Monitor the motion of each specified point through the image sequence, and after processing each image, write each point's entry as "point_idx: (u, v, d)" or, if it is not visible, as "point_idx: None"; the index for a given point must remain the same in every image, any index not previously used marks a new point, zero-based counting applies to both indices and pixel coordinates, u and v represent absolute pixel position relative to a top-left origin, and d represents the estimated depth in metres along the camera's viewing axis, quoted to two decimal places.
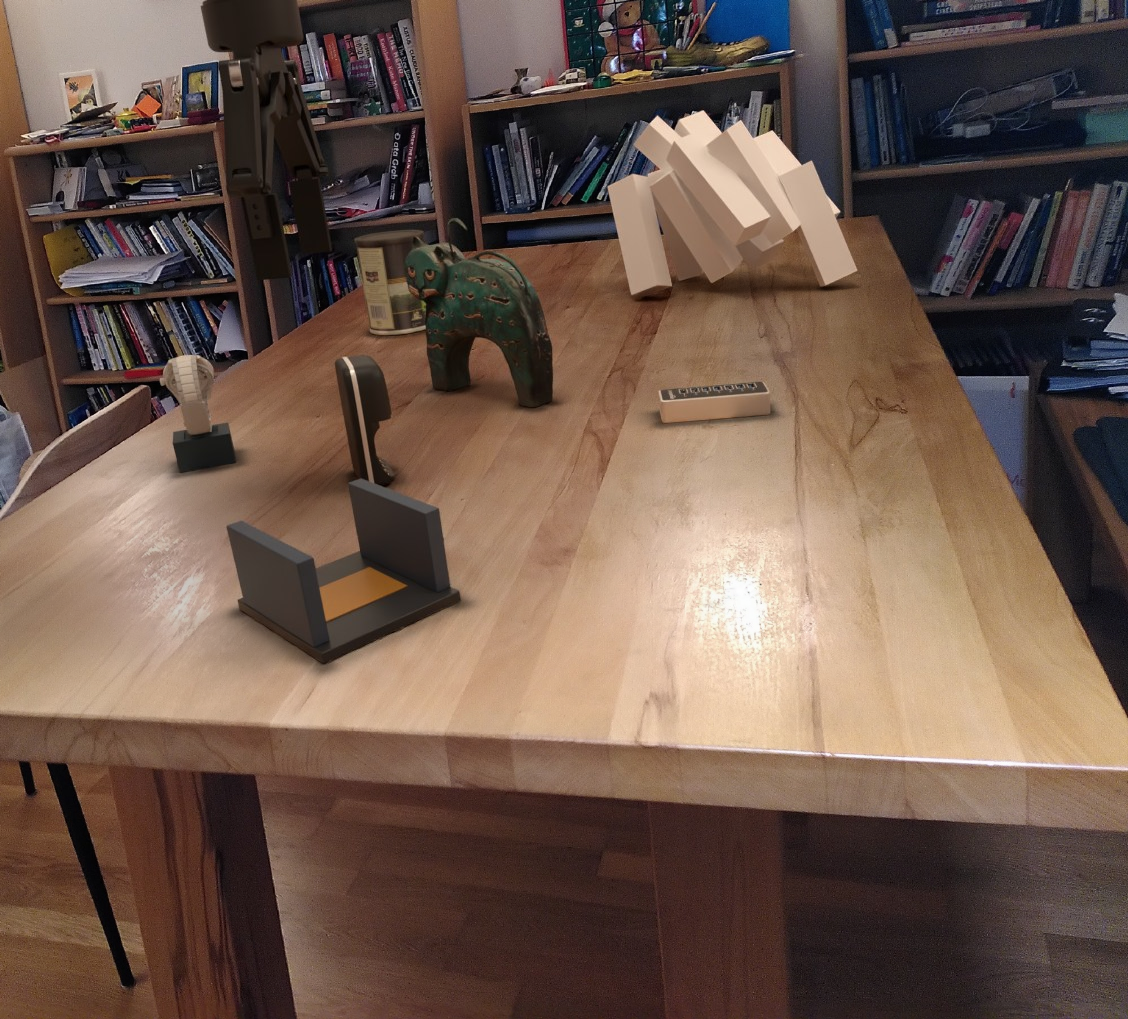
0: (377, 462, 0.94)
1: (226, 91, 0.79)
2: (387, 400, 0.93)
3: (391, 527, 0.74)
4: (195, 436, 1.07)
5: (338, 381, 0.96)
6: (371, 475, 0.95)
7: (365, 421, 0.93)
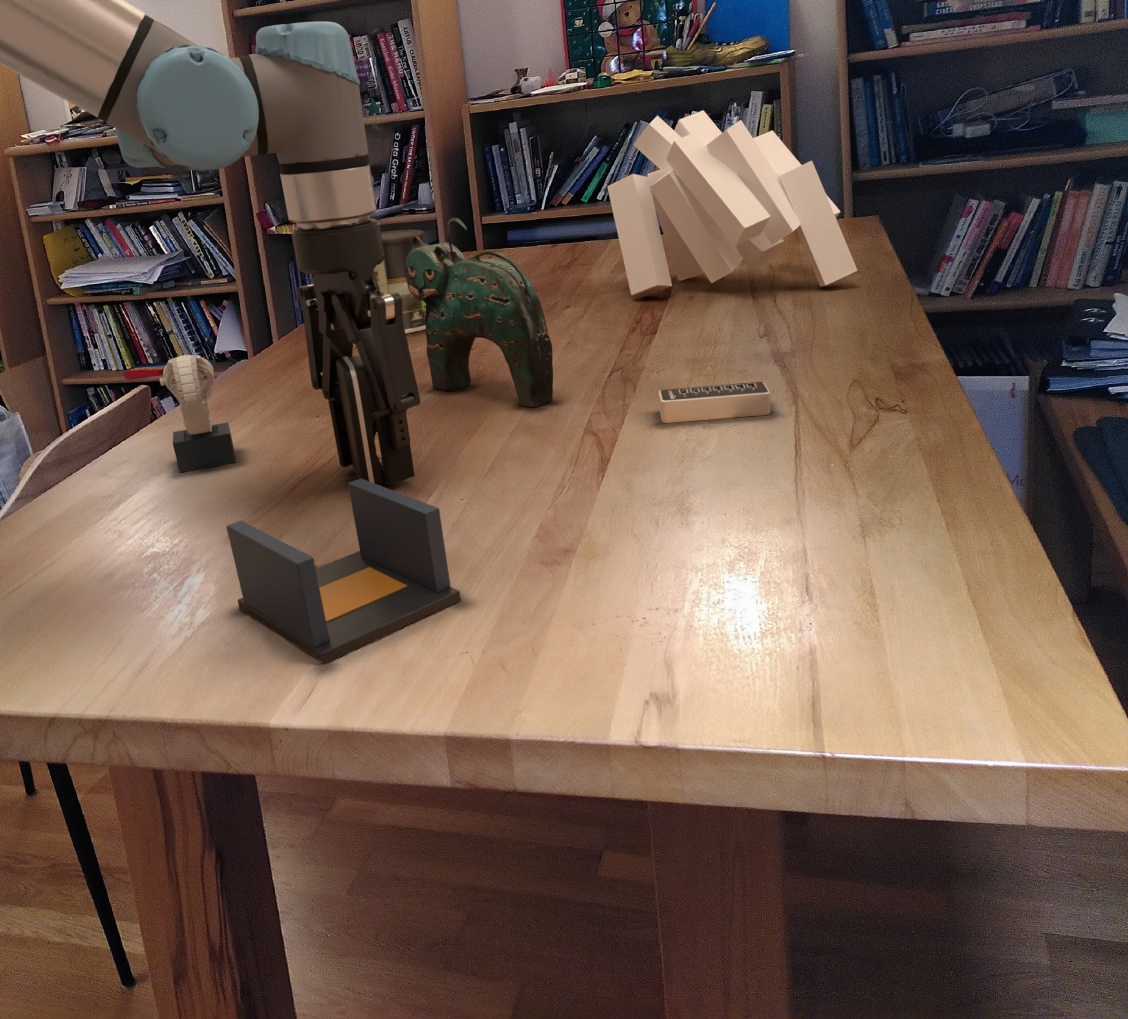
0: (377, 462, 0.94)
1: (382, 325, 0.87)
2: None
3: (391, 527, 0.74)
4: (195, 436, 1.07)
5: (338, 381, 0.96)
6: (371, 475, 0.95)
7: (365, 421, 0.93)
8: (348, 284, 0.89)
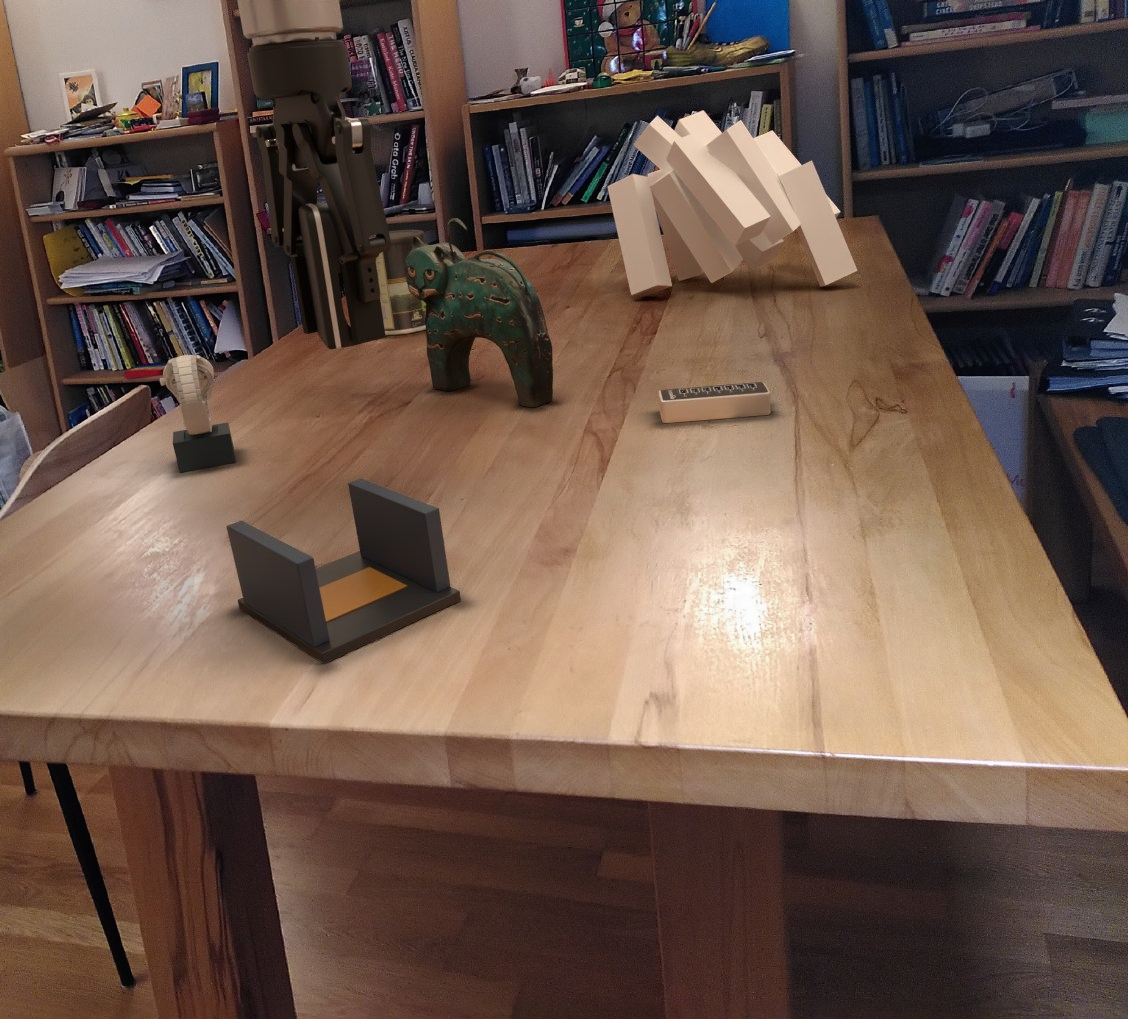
0: (344, 319, 0.85)
1: (348, 153, 0.78)
2: None
3: (391, 527, 0.74)
4: (195, 436, 1.07)
5: (301, 231, 0.86)
6: (337, 334, 0.85)
7: (330, 269, 0.83)
8: (310, 110, 0.79)
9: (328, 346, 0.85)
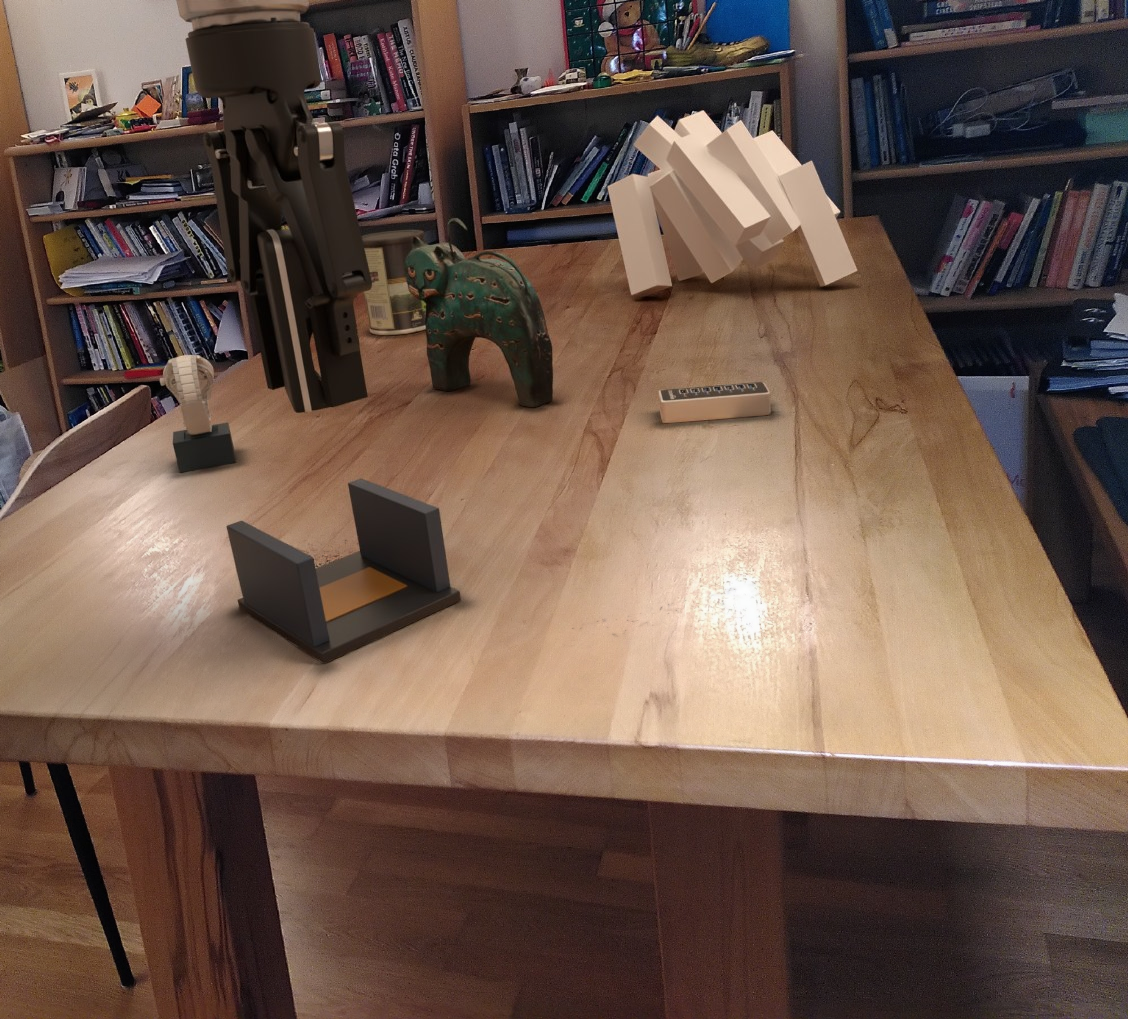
0: (315, 375, 0.67)
1: (314, 168, 0.60)
2: None
3: (391, 527, 0.74)
4: (195, 436, 1.07)
5: (262, 264, 0.69)
6: (307, 395, 0.68)
7: (296, 314, 0.65)
8: (267, 112, 0.62)
9: (295, 409, 0.68)
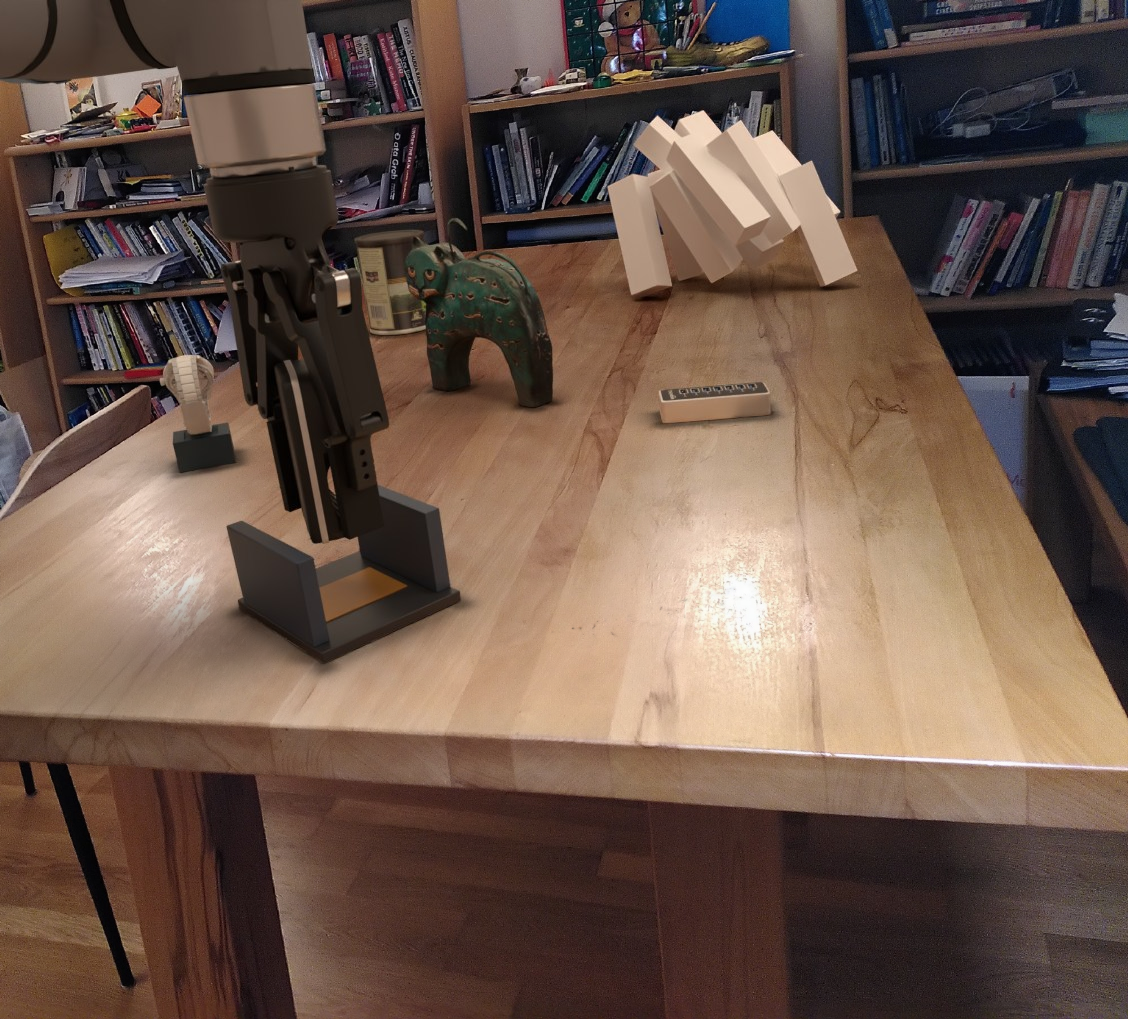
0: (332, 507, 0.68)
1: (332, 315, 0.61)
2: None
3: (391, 527, 0.74)
4: (195, 436, 1.07)
5: (279, 394, 0.69)
6: (324, 526, 0.68)
7: (314, 450, 0.66)
8: (285, 257, 0.62)
9: (312, 540, 0.68)
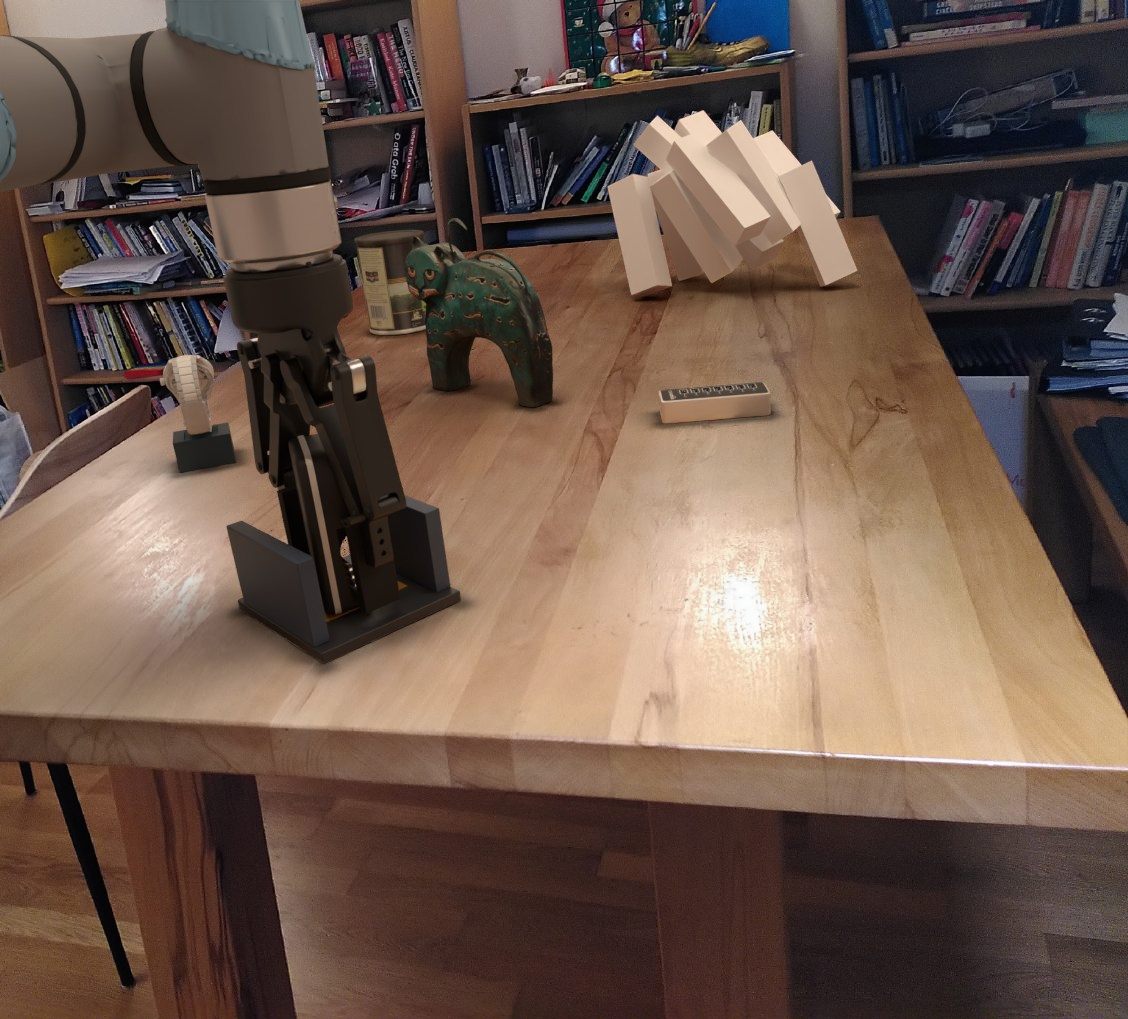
0: (345, 580, 0.69)
1: (348, 402, 0.63)
2: None
3: (391, 527, 0.74)
4: (195, 436, 1.07)
5: (293, 468, 0.71)
6: (337, 598, 0.70)
7: (327, 527, 0.68)
8: (301, 347, 0.64)
9: (326, 612, 0.70)
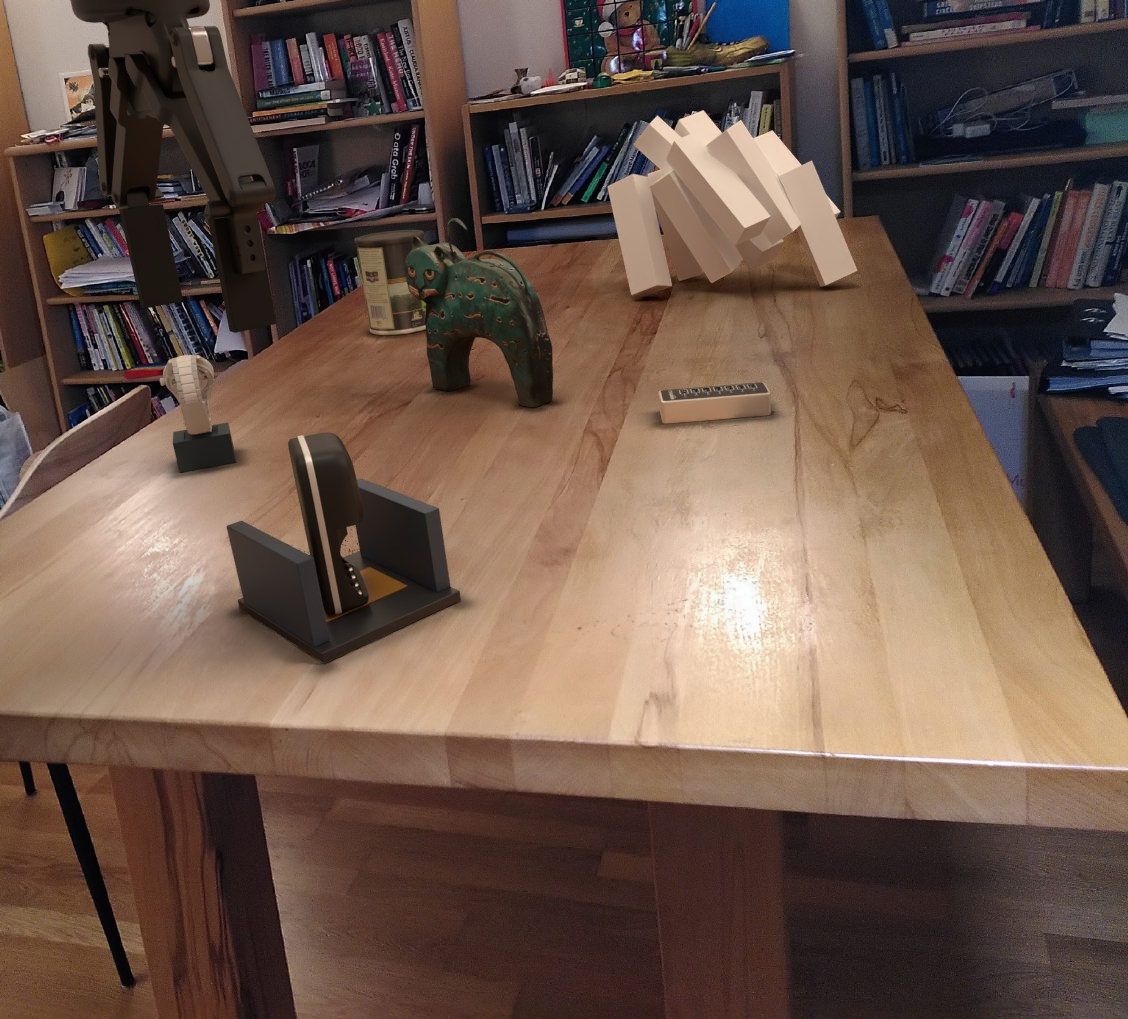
0: (345, 580, 0.69)
1: (192, 70, 0.56)
2: (357, 498, 0.68)
3: (391, 527, 0.74)
4: (195, 436, 1.07)
5: None
6: (337, 598, 0.70)
7: (327, 527, 0.68)
8: (146, 41, 0.59)
9: (326, 612, 0.70)
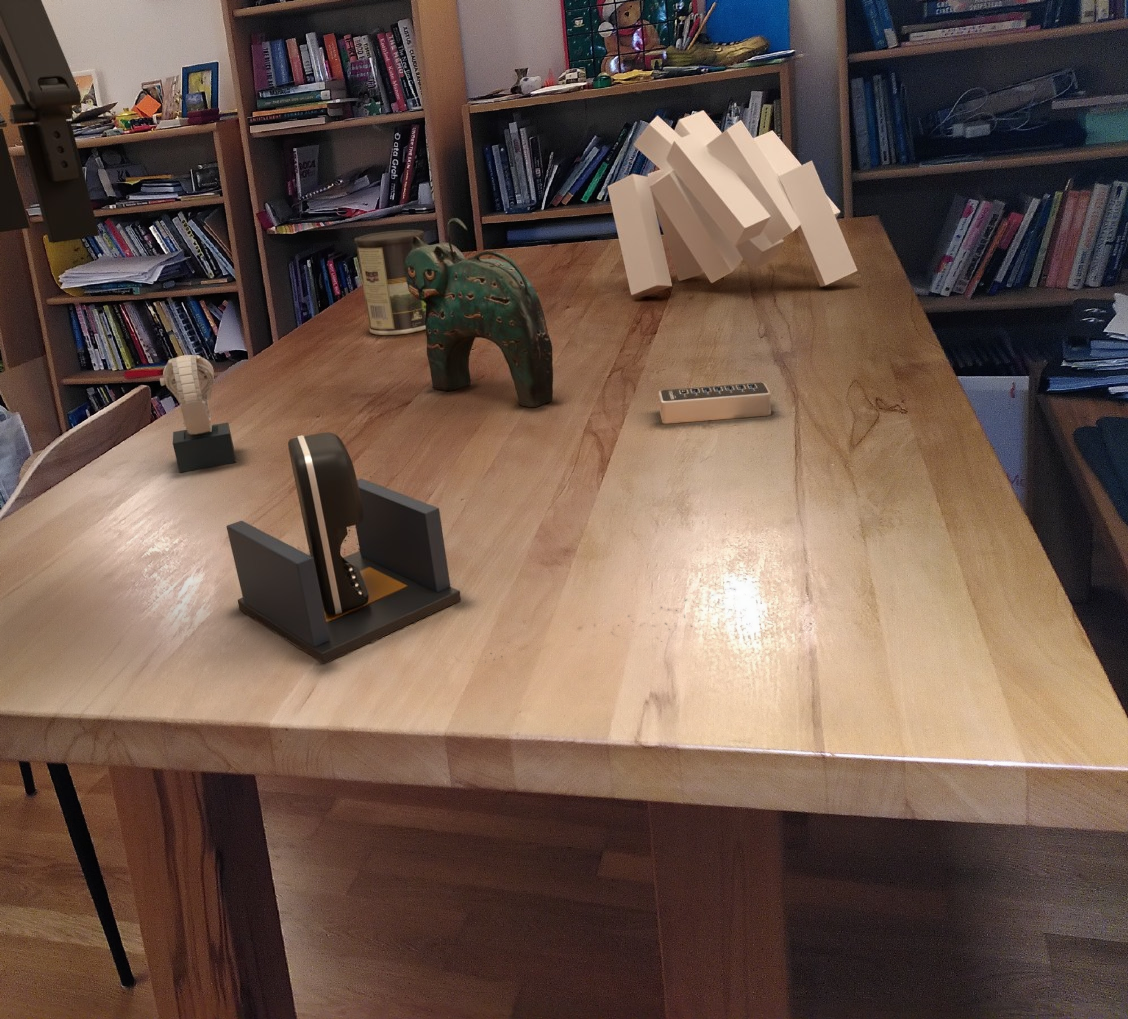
0: (345, 580, 0.69)
1: None
2: (357, 498, 0.68)
3: (391, 527, 0.74)
4: (195, 436, 1.07)
5: None
6: (337, 598, 0.70)
7: (327, 527, 0.68)
8: None
9: (326, 612, 0.70)
